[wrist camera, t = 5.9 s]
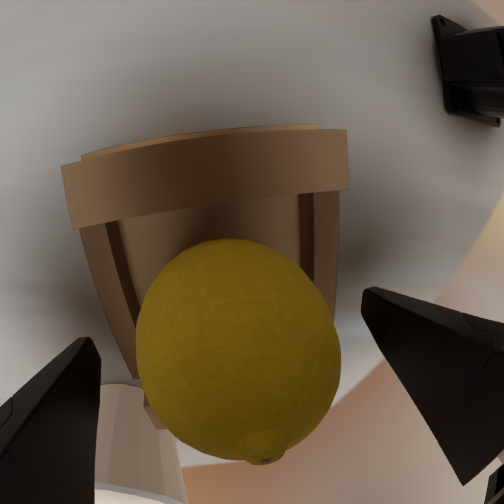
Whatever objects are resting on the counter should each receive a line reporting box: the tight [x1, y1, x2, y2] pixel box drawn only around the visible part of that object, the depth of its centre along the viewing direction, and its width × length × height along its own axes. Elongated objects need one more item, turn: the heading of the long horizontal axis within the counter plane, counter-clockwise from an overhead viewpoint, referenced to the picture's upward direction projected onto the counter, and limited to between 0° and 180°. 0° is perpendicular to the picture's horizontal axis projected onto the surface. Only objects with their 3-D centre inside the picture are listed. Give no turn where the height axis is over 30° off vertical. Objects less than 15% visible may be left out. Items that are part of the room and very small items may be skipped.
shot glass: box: [95, 384, 189, 504], centre depth 12 cm, size 7×7×7 cm
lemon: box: [136, 238, 341, 465], centre depth 8 cm, size 6×6×8 cm
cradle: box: [61, 124, 348, 430], centre depth 11 cm, size 9×12×4 cm
